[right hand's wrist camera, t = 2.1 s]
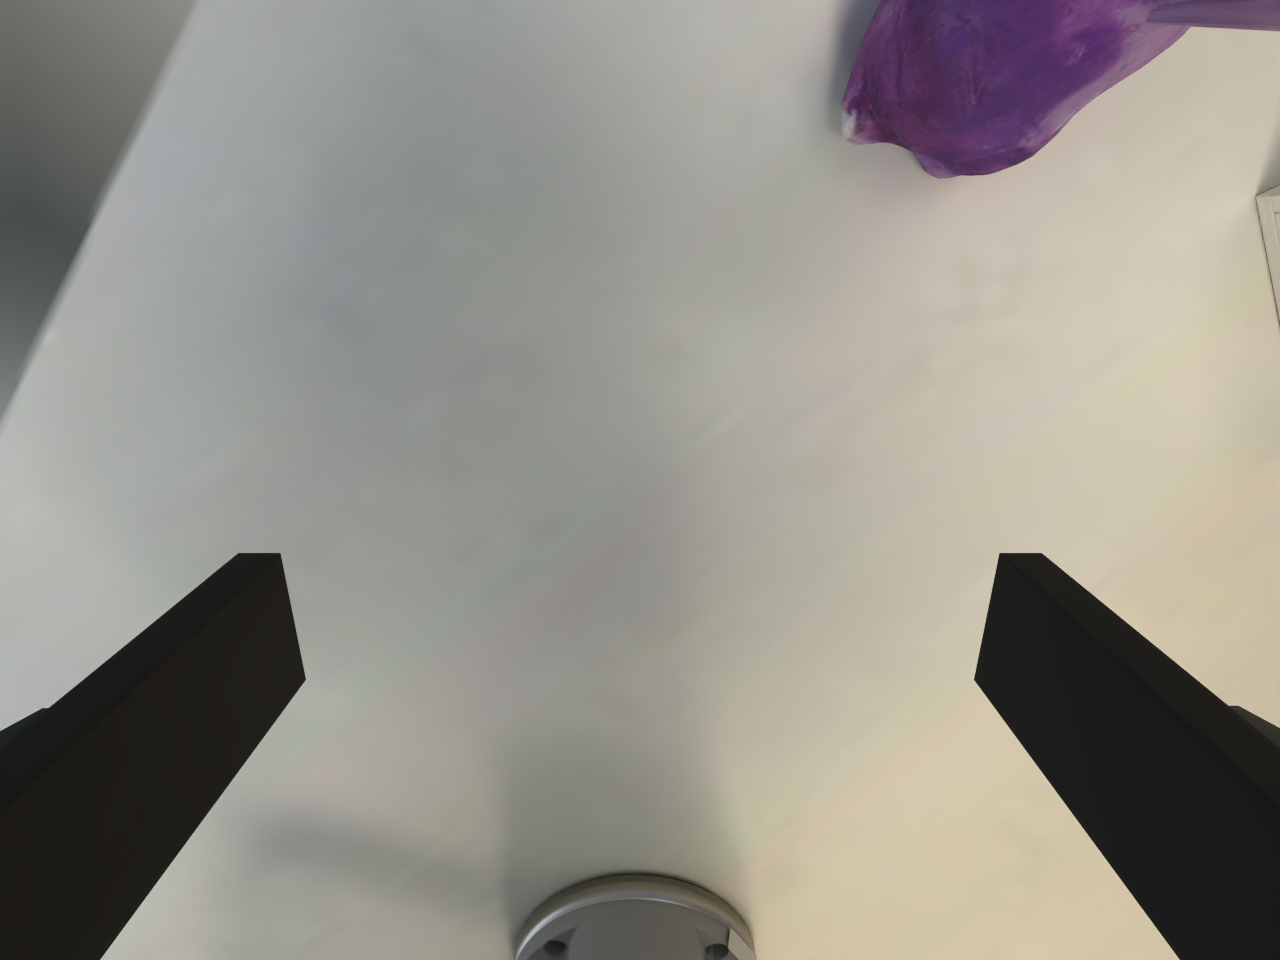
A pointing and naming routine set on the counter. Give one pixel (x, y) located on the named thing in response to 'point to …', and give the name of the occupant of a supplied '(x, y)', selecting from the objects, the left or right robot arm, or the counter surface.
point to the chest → (1271, 234)
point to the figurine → (1008, 70)
